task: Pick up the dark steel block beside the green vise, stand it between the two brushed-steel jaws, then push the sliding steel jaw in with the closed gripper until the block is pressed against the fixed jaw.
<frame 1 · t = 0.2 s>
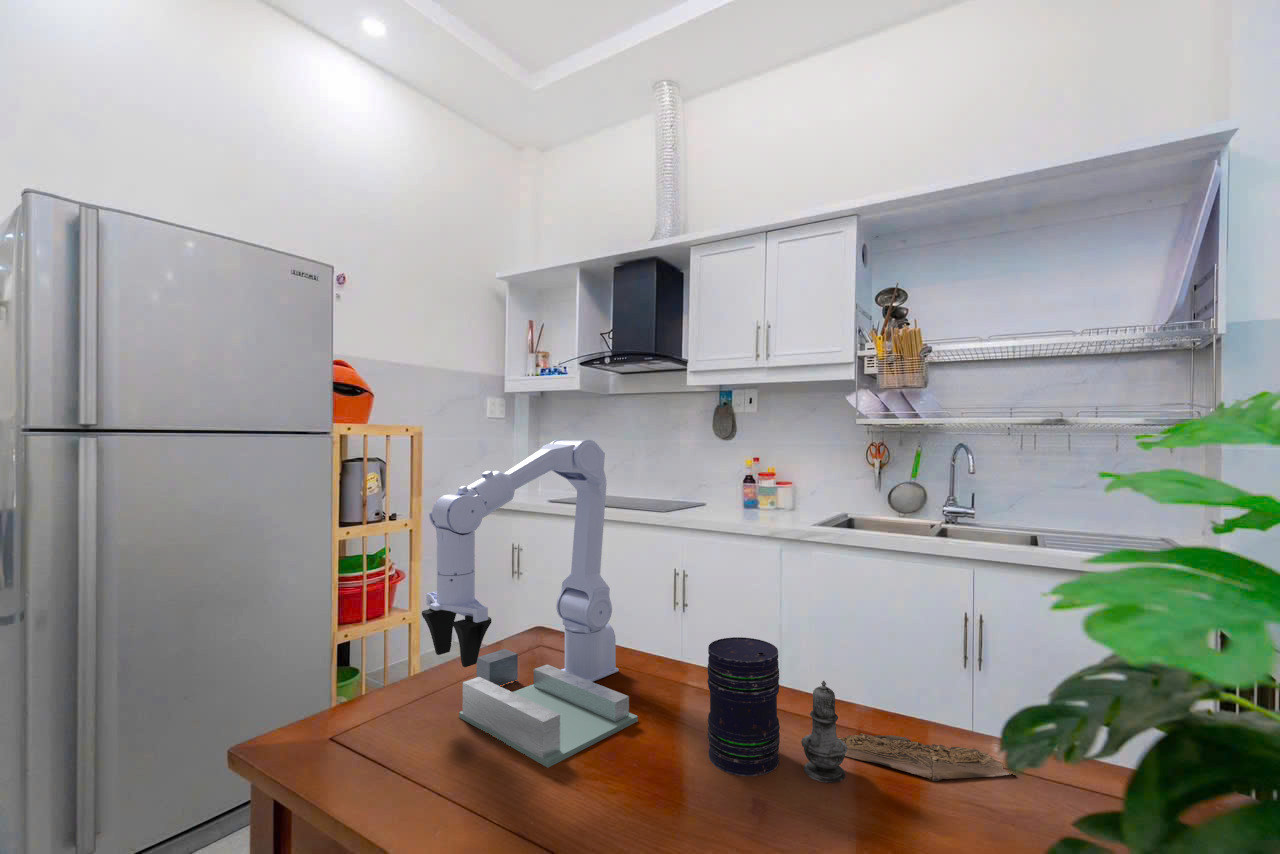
hand: (455, 658, 95), 10 cm above the table, tool pointing down, fingers open, 7 cm apart
vise base: (547, 719, 95), on the table
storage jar: (743, 758, 84), on the table
steel block: (497, 683, 110), on the table
salt shaker: (824, 773, 80), on the table
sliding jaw: (578, 691, 100), point 2 cm above the table, slide at 0.0 cm
wooden fragment: (907, 761, 84), on the table
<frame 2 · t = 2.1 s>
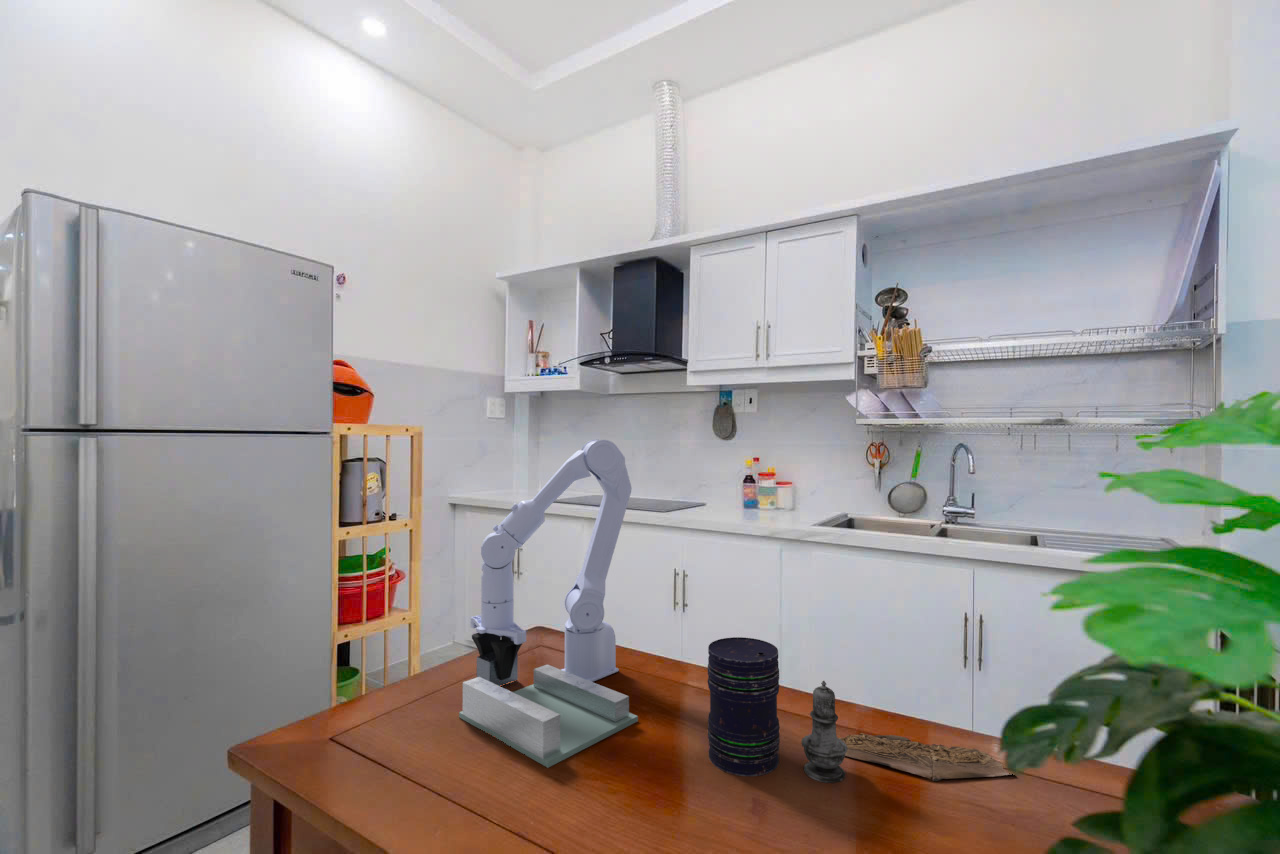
hand: (497, 674, 110), 1 cm above the table, tool pointing down, fingers closed on steel block, 4 cm apart
steel block: (497, 682, 110), on the table, touching gripper
everything else where it was.
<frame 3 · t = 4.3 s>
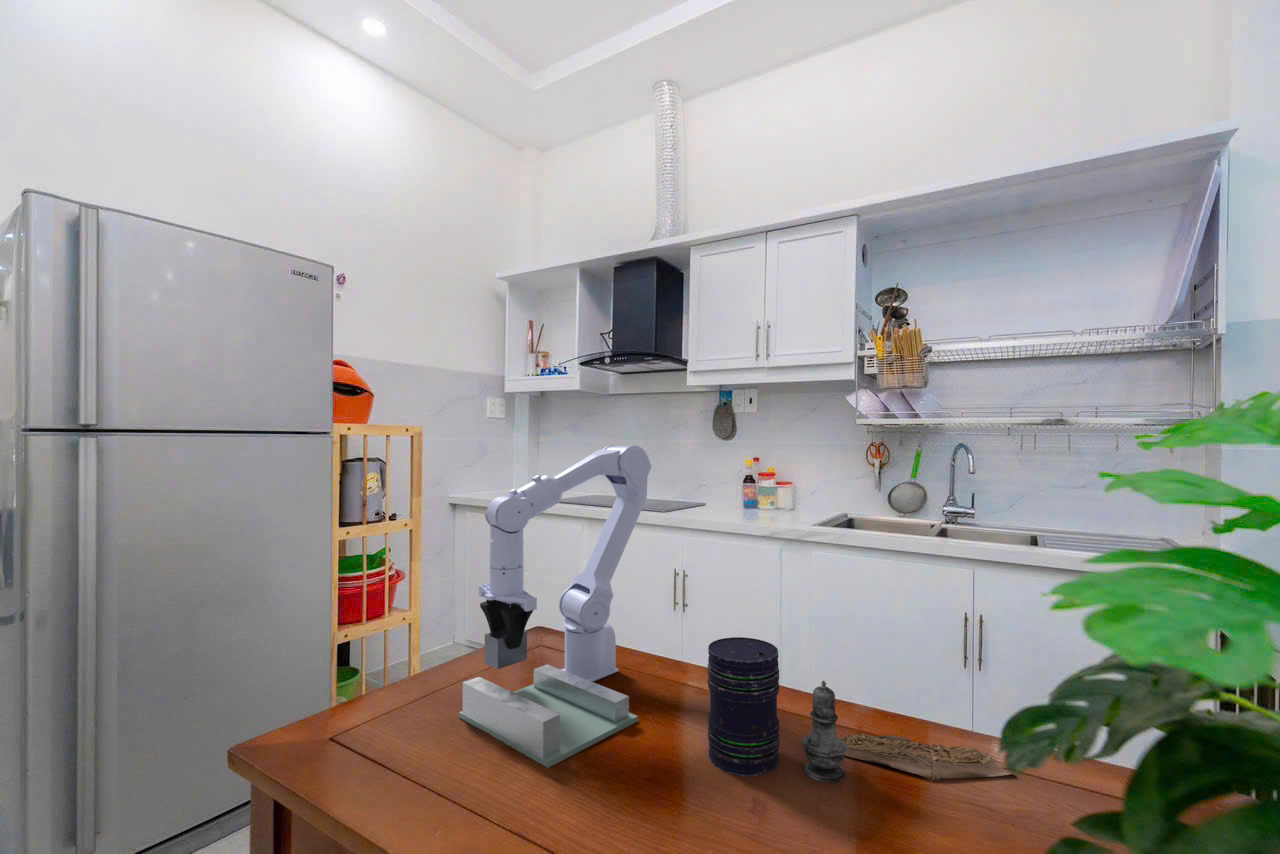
hand: (506, 644, 105), 8 cm above the table, tool pointing down, fingers closed on steel block, 4 cm apart
steel block: (506, 661, 105), point 5 cm above the table, touching gripper
everything else where it was.
when the fingers open (3 cm above the table, at t = 6.5 s): steel block stays where it is, resting on vise base.
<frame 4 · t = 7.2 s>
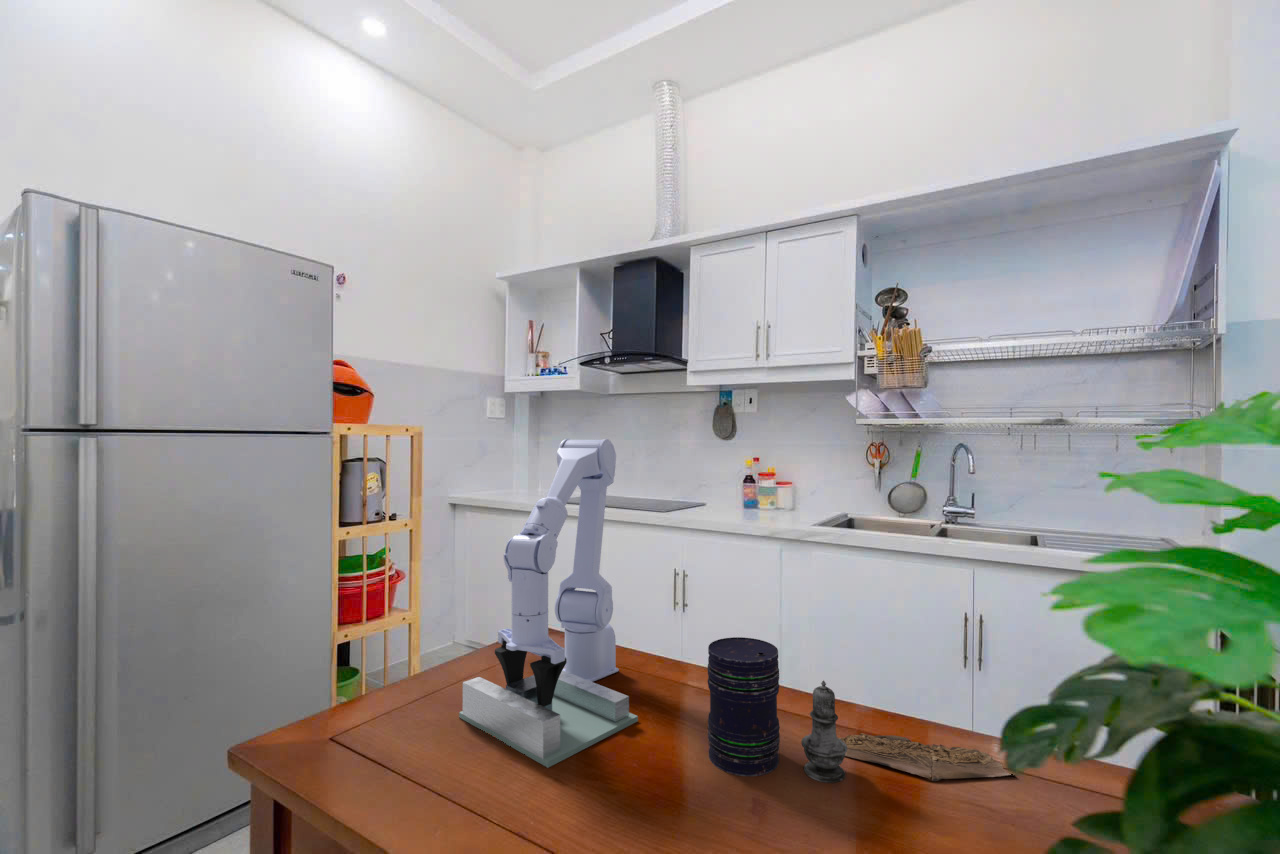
hand: (529, 697, 95), 3 cm above the table, tool pointing down, fingers open, 7 cm apart
steel block: (529, 714, 95), point 1 cm above the table, touching vise base
everything else where it was.
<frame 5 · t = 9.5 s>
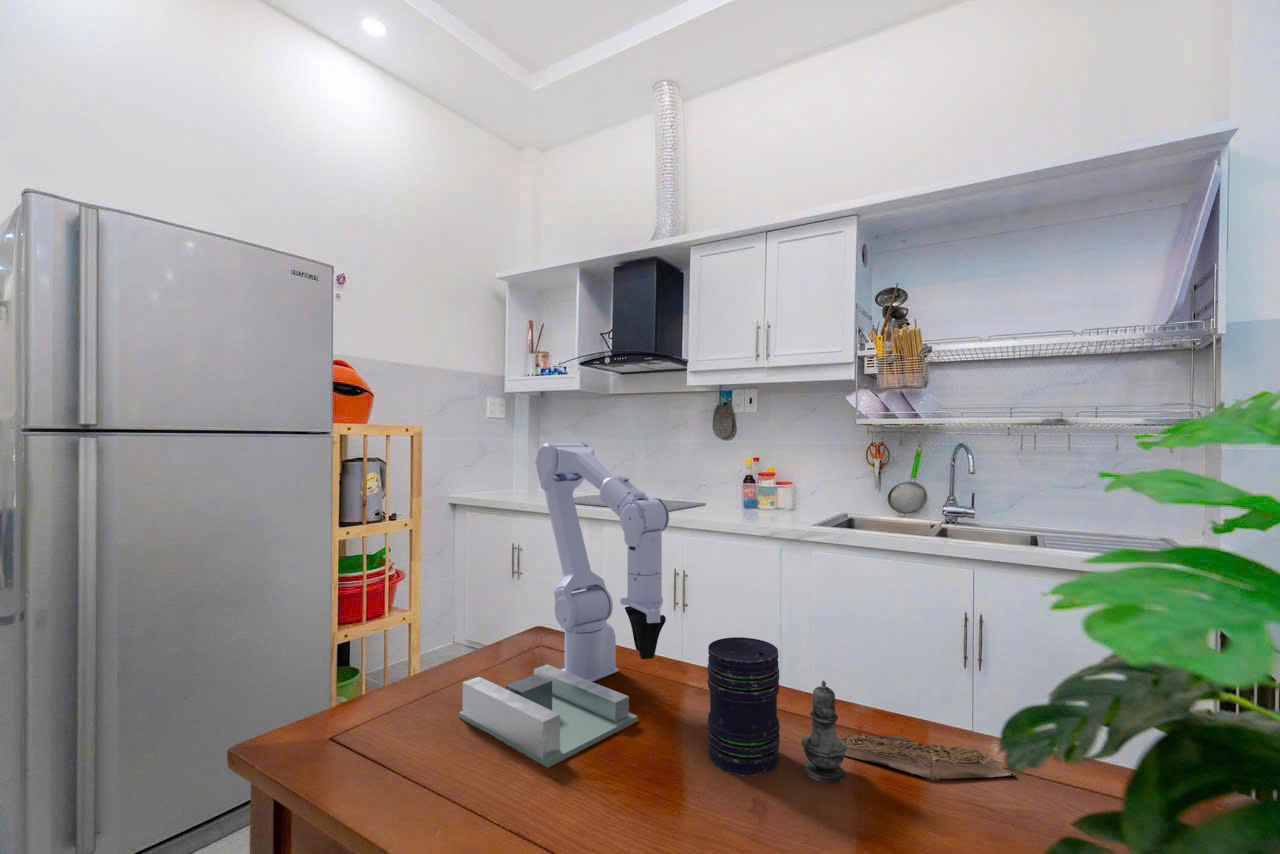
hand: (644, 654, 100), 8 cm above the table, tool pointing down, fingers open, 3 cm apart
nothing on the table moved.
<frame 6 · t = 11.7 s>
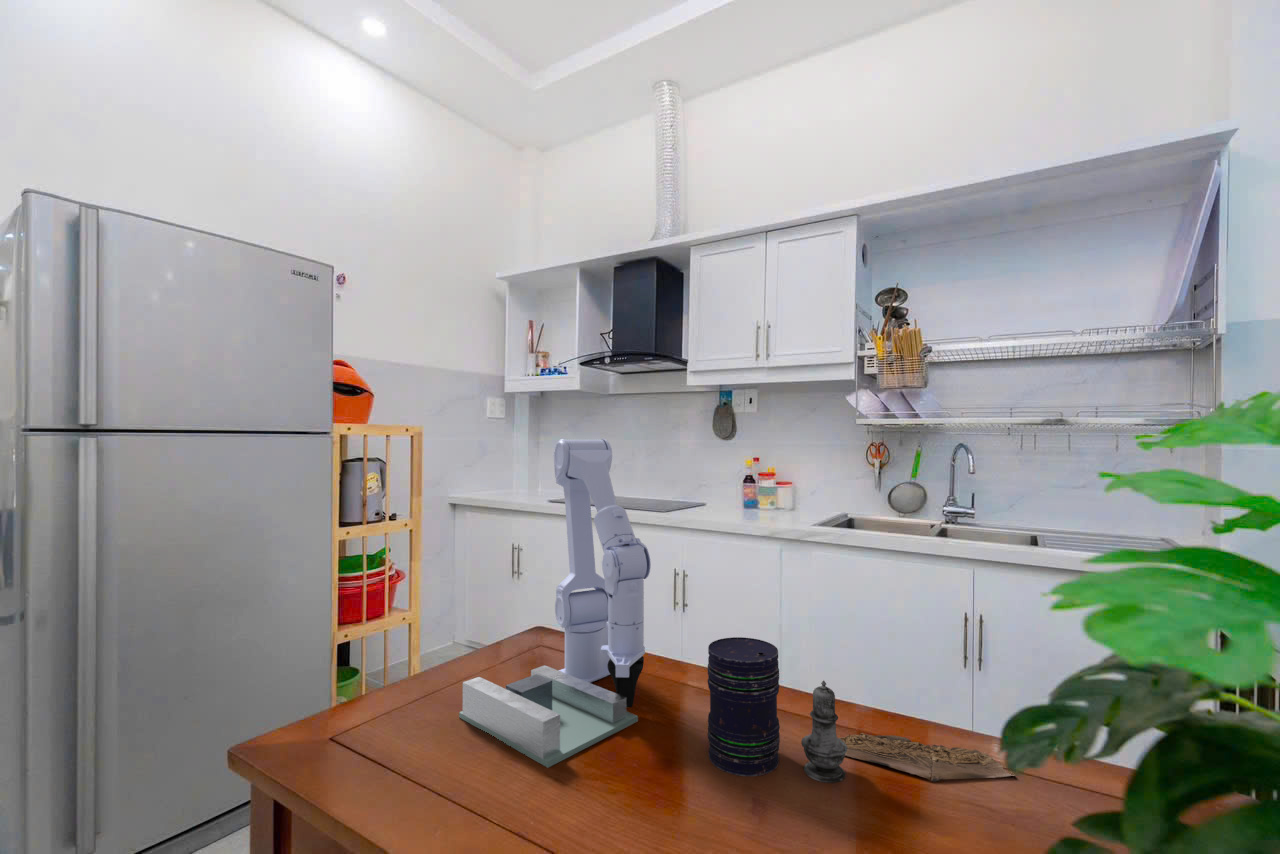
hand: (626, 705, 97), 1 cm above the table, tool pointing down, fingers closed
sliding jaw: (576, 692, 100), point 2 cm above the table, slide at 0.6 cm, touching gripper
everything else where it was.
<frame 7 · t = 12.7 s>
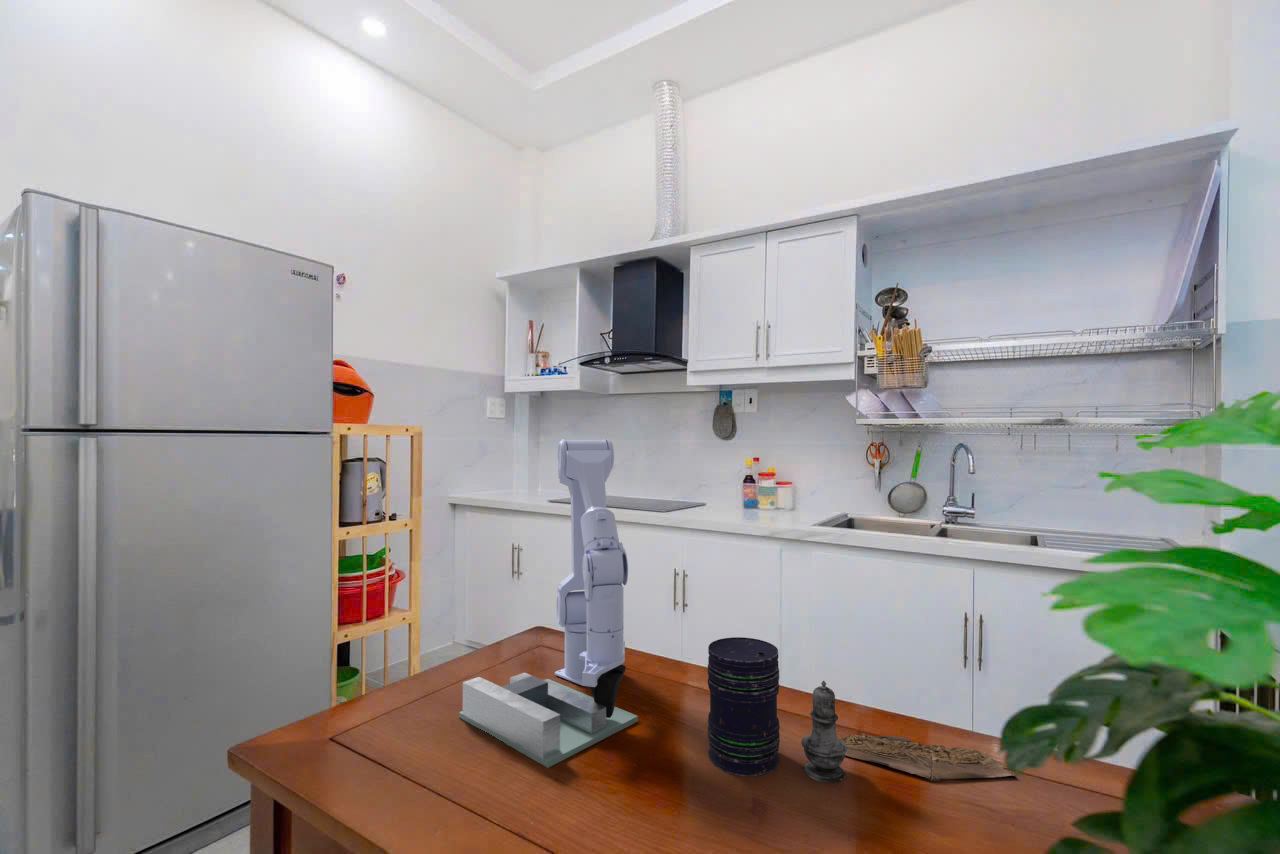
hand: (605, 715, 93), 1 cm above the table, tool pointing down, fingers closed
steel block: (524, 716, 94), point 1 cm above the table, touching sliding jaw, vise base
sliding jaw: (555, 700, 96), point 2 cm above the table, slide at 5.0 cm, touching gripper, steel block
everything else where it was.
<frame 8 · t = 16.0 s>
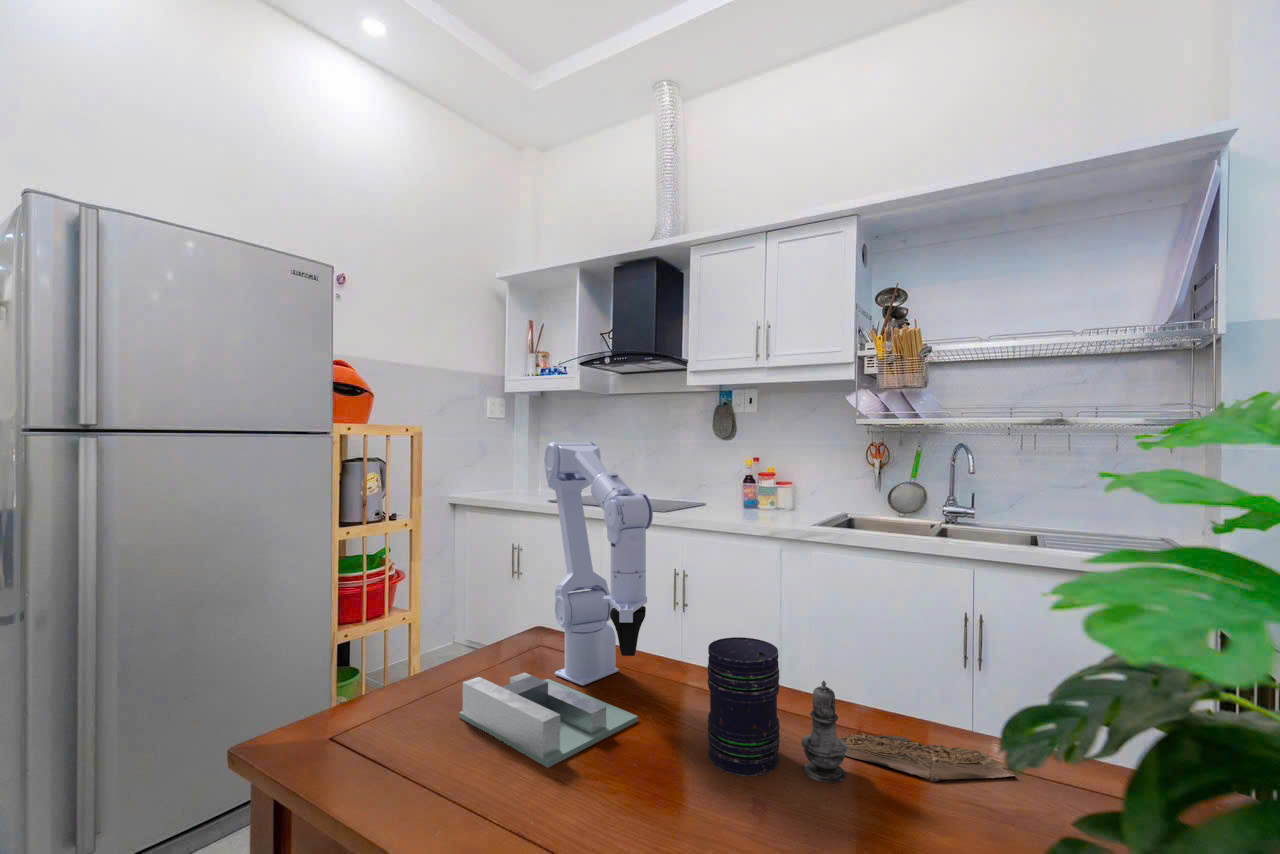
hand: (628, 654, 98), 9 cm above the table, tool pointing down, fingers closed
steel block: (524, 716, 94), point 1 cm above the table, touching vise base
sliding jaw: (555, 700, 96), point 2 cm above the table, slide at 5.0 cm
everything else where it was.
at the end: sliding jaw slide at 5.0 cm; steel block 0.2 cm from the target spot, point 0.8 cm above the table; steel block tilted 0° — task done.
